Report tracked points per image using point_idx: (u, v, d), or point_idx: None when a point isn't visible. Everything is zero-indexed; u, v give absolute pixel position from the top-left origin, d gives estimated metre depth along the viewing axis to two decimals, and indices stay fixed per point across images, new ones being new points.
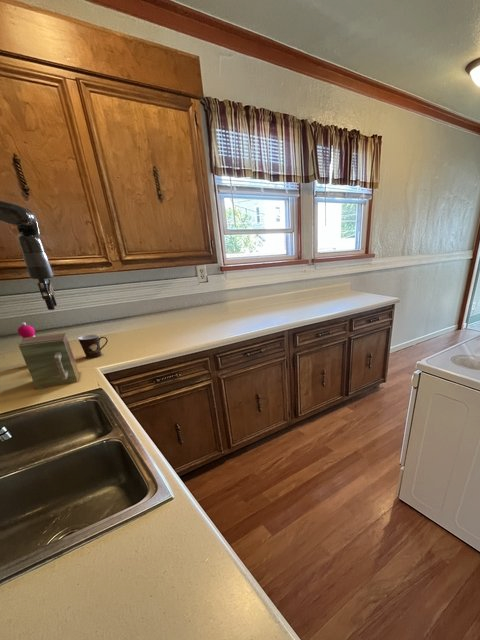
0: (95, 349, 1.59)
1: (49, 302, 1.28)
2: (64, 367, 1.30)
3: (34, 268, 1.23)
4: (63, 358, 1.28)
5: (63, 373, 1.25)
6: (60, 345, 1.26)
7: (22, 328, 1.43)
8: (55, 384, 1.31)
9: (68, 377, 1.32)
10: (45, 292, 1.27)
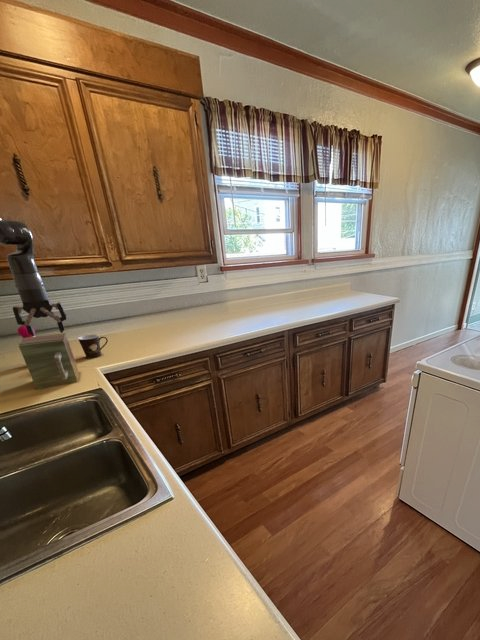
0: (95, 349, 1.59)
1: (27, 327, 1.14)
2: (64, 367, 1.30)
3: None
4: (63, 358, 1.28)
5: (63, 373, 1.25)
6: (60, 345, 1.26)
7: (22, 328, 1.43)
8: (55, 384, 1.31)
9: (68, 377, 1.32)
10: (28, 316, 1.13)
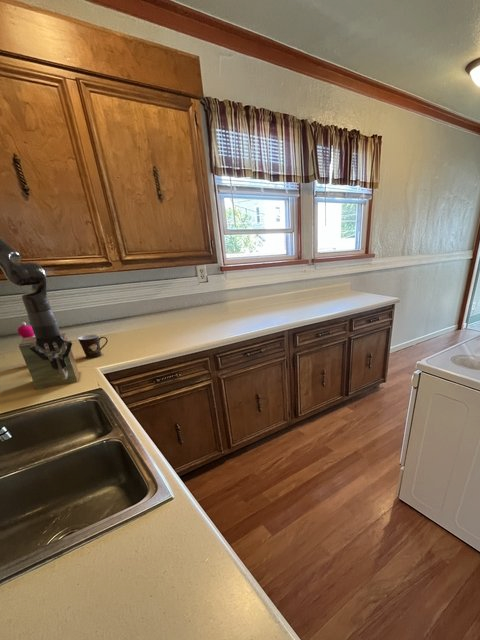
0: (95, 349, 1.59)
1: (51, 362, 1.21)
2: None
3: None
4: None
5: (63, 373, 1.25)
6: None
7: (22, 328, 1.43)
8: (55, 384, 1.31)
9: (68, 377, 1.32)
10: None
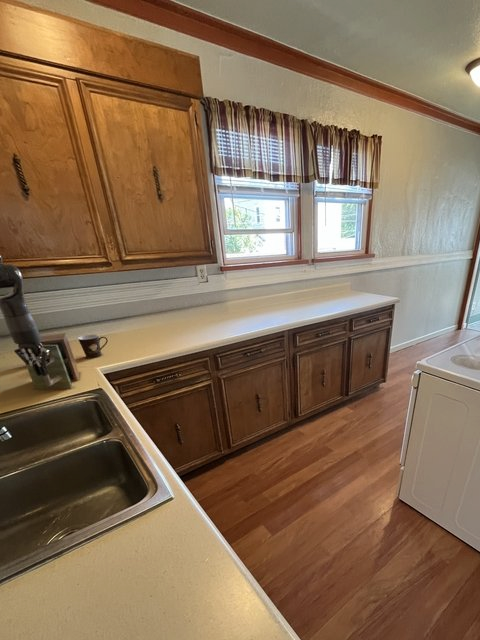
0: (95, 349, 1.59)
1: None
2: (58, 372, 1.25)
3: None
4: (56, 363, 1.23)
5: (47, 380, 1.19)
6: (53, 350, 1.21)
7: None
8: (51, 387, 1.28)
9: (62, 382, 1.27)
10: None
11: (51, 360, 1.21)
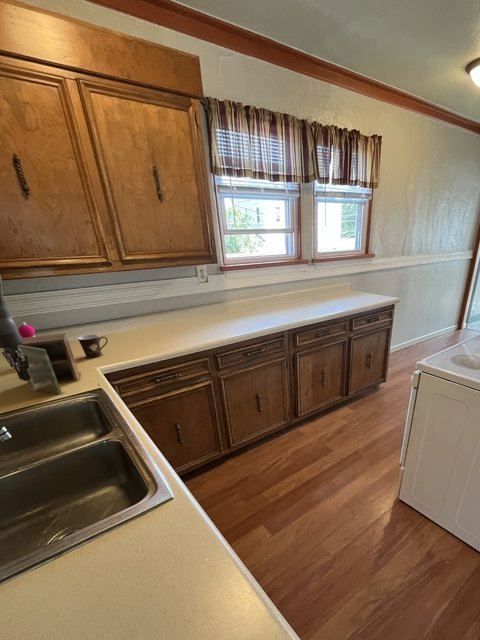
0: (95, 349, 1.59)
1: (18, 371, 1.14)
2: (48, 376, 1.21)
3: None
4: (45, 367, 1.19)
5: (29, 384, 1.16)
6: (41, 354, 1.17)
7: (22, 328, 1.43)
8: (45, 390, 1.26)
9: (52, 387, 1.23)
10: None
11: (38, 364, 1.17)
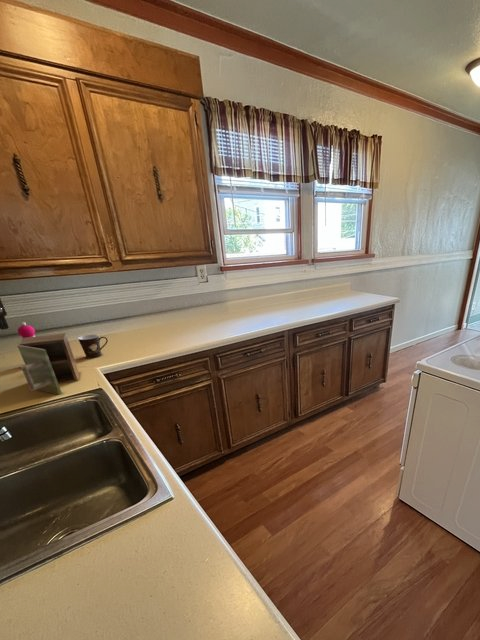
0: (95, 349, 1.59)
1: None
2: (48, 376, 1.21)
3: None
4: (45, 367, 1.19)
5: (29, 384, 1.16)
6: (41, 354, 1.17)
7: (22, 328, 1.43)
8: (45, 390, 1.26)
9: (52, 387, 1.23)
10: None
11: (38, 364, 1.17)
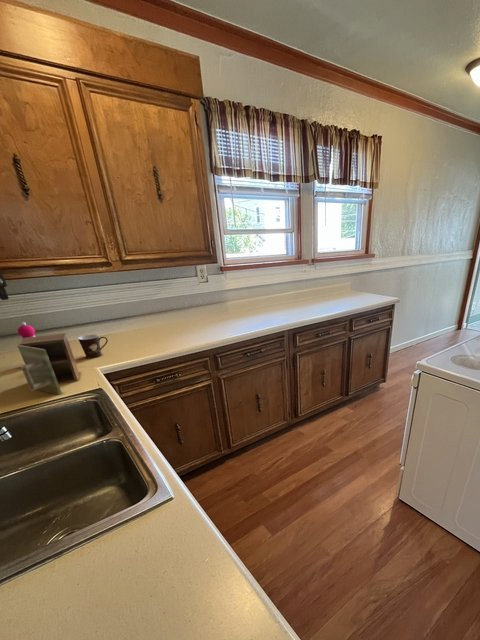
0: (95, 349, 1.59)
1: None
2: (48, 376, 1.21)
3: None
4: (45, 367, 1.19)
5: (29, 384, 1.16)
6: (41, 354, 1.17)
7: (22, 328, 1.43)
8: (45, 390, 1.26)
9: (52, 387, 1.23)
10: None
11: (38, 364, 1.17)
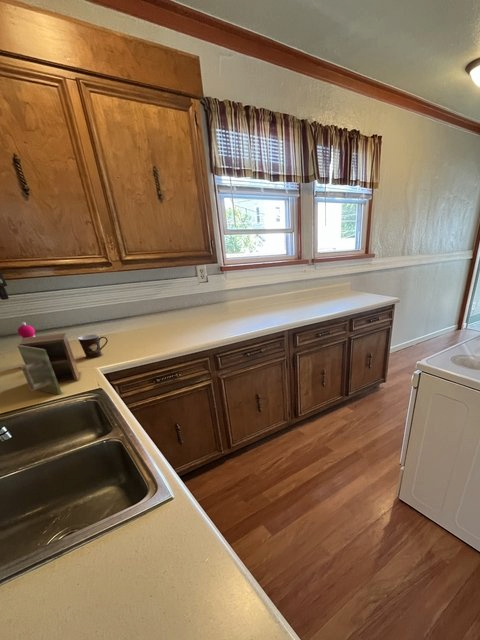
0: (95, 349, 1.59)
1: None
2: (48, 376, 1.21)
3: None
4: (45, 367, 1.19)
5: (29, 384, 1.16)
6: (41, 354, 1.17)
7: (22, 328, 1.43)
8: (45, 390, 1.26)
9: (52, 387, 1.23)
10: None
11: (38, 364, 1.17)
